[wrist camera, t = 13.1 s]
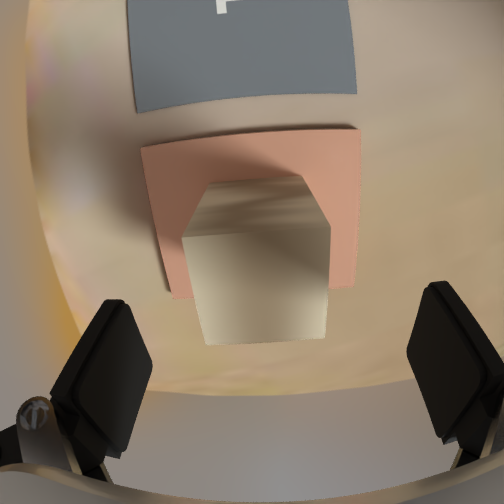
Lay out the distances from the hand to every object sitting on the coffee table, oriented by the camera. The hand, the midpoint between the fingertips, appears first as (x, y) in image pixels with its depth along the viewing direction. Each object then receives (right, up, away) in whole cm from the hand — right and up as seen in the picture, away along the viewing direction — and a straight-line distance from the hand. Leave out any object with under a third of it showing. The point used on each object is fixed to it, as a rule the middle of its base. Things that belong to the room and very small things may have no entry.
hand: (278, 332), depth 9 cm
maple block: (0, +4, +8) cm, 9 cm away
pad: (-1, +4, +9) cm, 10 cm away
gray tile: (-2, +16, +3) cm, 16 cm away
